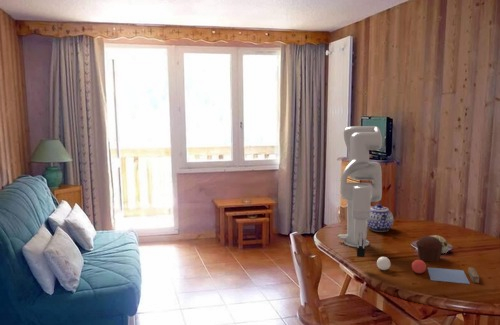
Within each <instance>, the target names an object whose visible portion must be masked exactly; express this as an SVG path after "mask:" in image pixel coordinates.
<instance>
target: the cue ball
mask: <svg viewBox="0 0 500 325" xmlns="http://www.w3.org/2000/svg"><path fill="white" fill-rule="evenodd" d="M391 265H392V264H391V261H390V259H389V258H388V257H386V256H380V257H378V259H377V260H376V266H377V267H378V269H379V270H381V271H387V270H388V269H390V268H391Z"/></svg>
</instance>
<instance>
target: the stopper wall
mask: <svg viewBox="0 0 500 325" xmlns="http://www.w3.org/2000/svg"><path fill="white" fill-rule="evenodd" d="M467 274H468V276H469V278H470V280H471V281H472V283H474V284H479V283H480V275H479V274H478V273H477V270H476V269H475V267H468V269H467Z"/></svg>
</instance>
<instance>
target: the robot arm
mask: <svg viewBox="0 0 500 325" xmlns="http://www.w3.org/2000/svg"><path fill="white" fill-rule="evenodd" d="M343 139H344V143H345V147H346V148H347V152H348V164H347V165H346V167H344V169H343V170H342V173H341V175H340V194H341V197H342V199H344V200H346V204H347V206H346V208H347V209H346V211H347V216H346V218H347V219H346V223H347V224H346V233H345V234H338V236H337V237H338V239H339V240H343V244H344V245H345V246H348V247H350V248H356V256H357V258H366V248H365V247H368V246H370V241H369V240H367V237H368V236H367V234H368V226H367V220H368V219H370V215H371V207H372V206H371V205H372V204H371V203H377V202H380V201H381V200H382V195H383V193H382V192H383V180H382V177H383V176H382V174H383V173H382V166H381V164H380V163H379V162H378V161H370V151H379V150H381V148H382V146H383V137H382V133H381V130H380V127H379V126H376V125H368V126H367V125H364V126H363V125H362V126H361V125H355V126H354V125H353V126H348V127H345V129H344V130H343ZM348 177H349V178H350V179H351V180H353V181H354V180H355V181H370V182H348Z"/></svg>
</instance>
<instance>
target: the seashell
mask: <svg viewBox="0 0 500 325" xmlns="http://www.w3.org/2000/svg"><path fill="white" fill-rule="evenodd" d="M432 236H433V237H436V238H437V239H438V240H439V241H440V242H441V243H442V245H443V247H442V251H441V254H443V255H445V254H448V253H449V245H448V244H449V243H448V242H447V240H446V239H445V238H444V236H441V235H438V234H437V235H436V234H435V235H432ZM447 252H448V253H447ZM444 253H445V254H444Z"/></svg>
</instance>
